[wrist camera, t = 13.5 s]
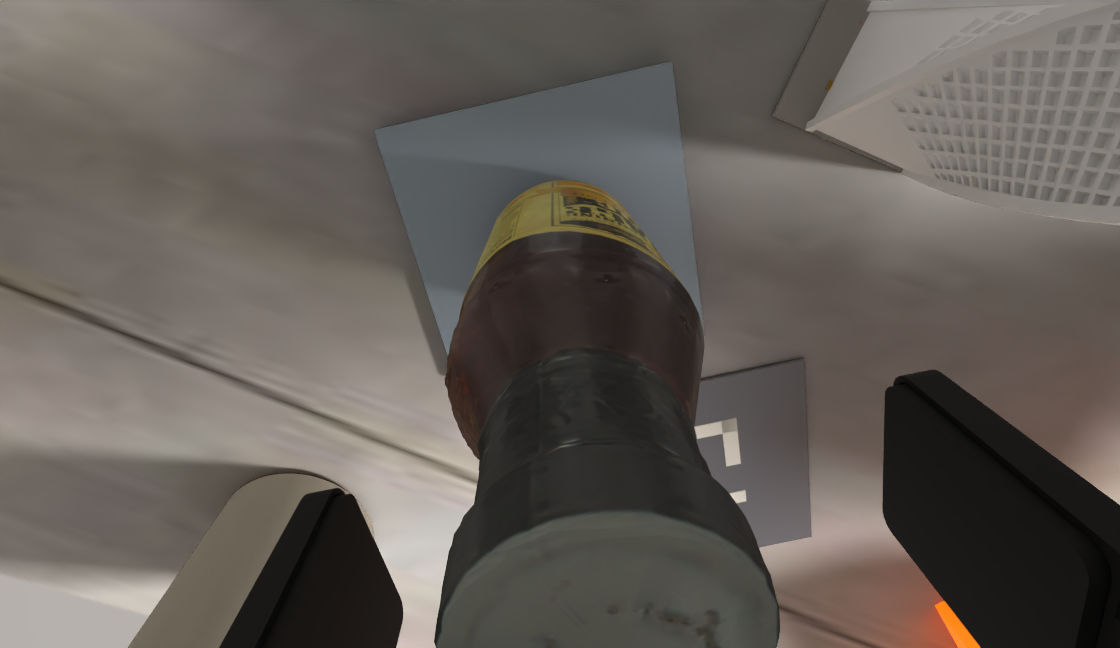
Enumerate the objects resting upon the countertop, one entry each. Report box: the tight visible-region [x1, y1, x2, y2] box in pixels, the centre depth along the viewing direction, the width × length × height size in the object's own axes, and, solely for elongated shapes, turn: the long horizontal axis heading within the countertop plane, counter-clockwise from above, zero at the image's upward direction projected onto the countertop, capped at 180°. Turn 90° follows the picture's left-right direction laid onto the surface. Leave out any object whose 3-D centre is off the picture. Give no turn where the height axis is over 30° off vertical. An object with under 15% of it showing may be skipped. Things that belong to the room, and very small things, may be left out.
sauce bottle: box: [434, 180, 780, 648], centre depth 16 cm, size 7×6×20 cm
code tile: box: [694, 358, 811, 547], centre depth 32 cm, size 12×12×1 cm
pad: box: [374, 62, 705, 356], centre depth 25 cm, size 12×12×1 cm
